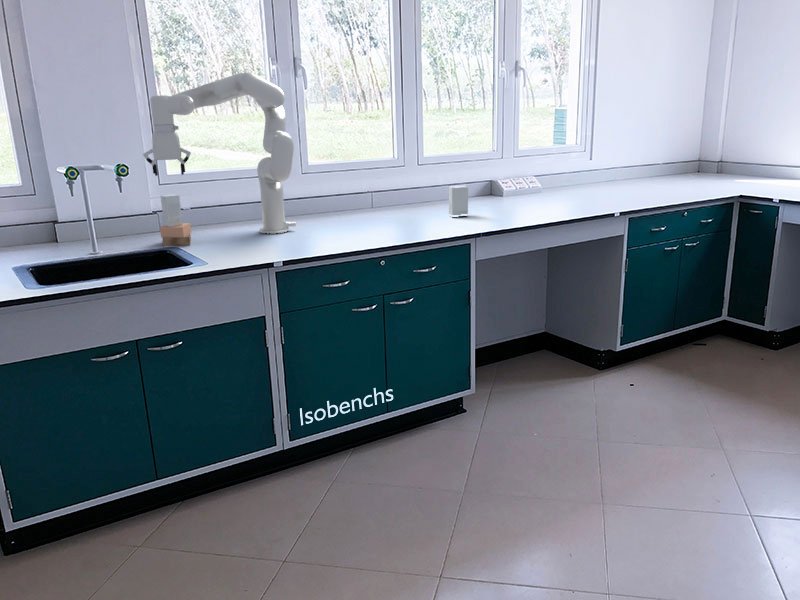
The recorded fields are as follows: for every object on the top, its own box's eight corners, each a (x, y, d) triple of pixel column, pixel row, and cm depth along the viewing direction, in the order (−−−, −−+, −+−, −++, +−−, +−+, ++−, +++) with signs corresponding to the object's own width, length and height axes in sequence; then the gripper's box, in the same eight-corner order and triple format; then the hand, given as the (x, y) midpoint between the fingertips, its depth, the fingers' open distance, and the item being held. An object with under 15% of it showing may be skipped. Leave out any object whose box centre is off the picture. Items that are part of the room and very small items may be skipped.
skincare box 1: (178, 223, 263) (174, 193, 260) (182, 225, 260) (179, 194, 257) (163, 225, 259) (160, 195, 256) (168, 227, 256) (164, 196, 253)
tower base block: (191, 241, 268) (190, 232, 267) (190, 246, 259) (189, 236, 258) (165, 243, 266) (164, 233, 265) (163, 248, 256) (162, 238, 255)
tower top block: (191, 232, 265) (190, 223, 264) (183, 237, 257) (182, 227, 256) (169, 232, 266) (168, 223, 265) (161, 237, 257) (160, 227, 256)
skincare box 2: (464, 215, 321) (465, 184, 316) (468, 217, 315) (469, 186, 311) (447, 216, 319) (448, 185, 314) (451, 218, 313) (452, 187, 309)
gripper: (188, 128, 254) (193, 172, 259) (141, 129, 250) (146, 174, 255) (187, 129, 247) (192, 175, 252) (139, 130, 243) (145, 177, 248)
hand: (169, 174), depth 254 cm, fingers open, 9 cm apart
